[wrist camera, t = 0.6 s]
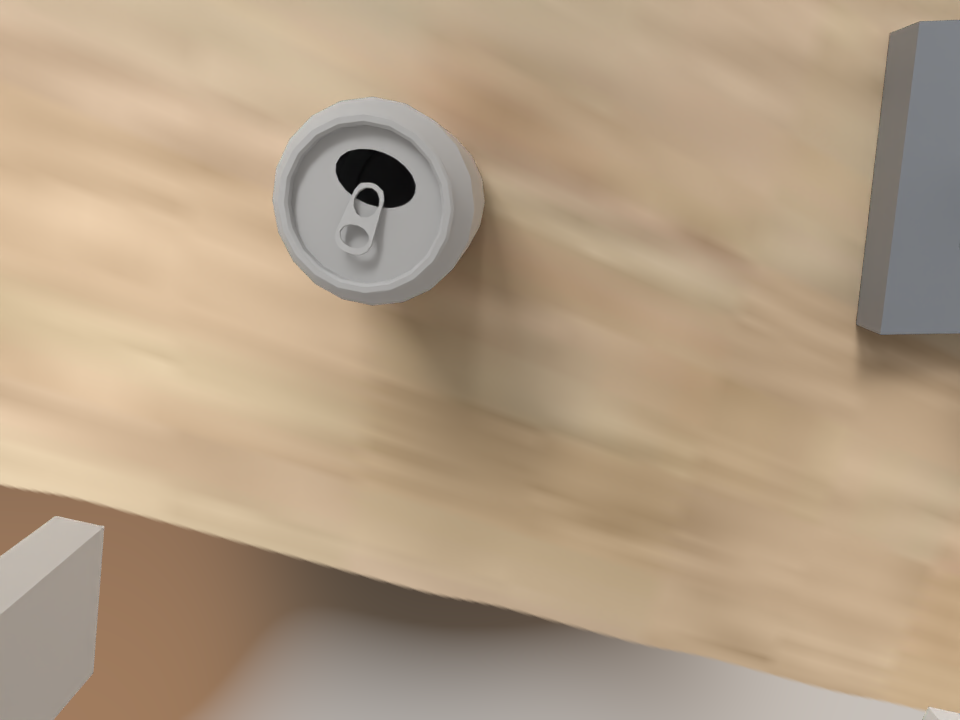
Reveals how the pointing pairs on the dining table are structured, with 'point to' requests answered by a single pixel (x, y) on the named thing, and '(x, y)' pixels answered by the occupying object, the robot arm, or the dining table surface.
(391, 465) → the dining table surface
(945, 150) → the housing
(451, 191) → the can
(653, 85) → the dining table surface
